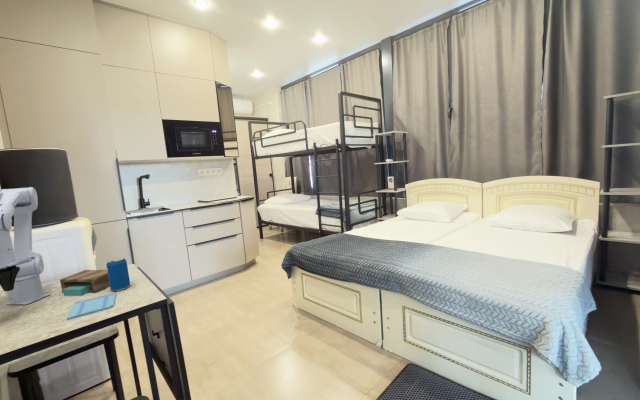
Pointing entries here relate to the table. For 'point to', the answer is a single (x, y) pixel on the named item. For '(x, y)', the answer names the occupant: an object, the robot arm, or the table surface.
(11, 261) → the robot arm
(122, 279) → the beverage can
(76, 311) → the light blue flat pad
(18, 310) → the table surface
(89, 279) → the wooden box
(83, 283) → the teal slab tile
